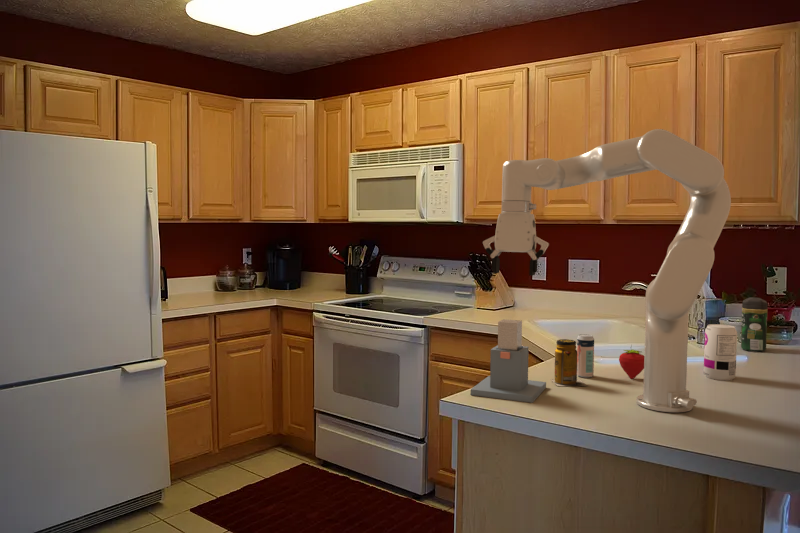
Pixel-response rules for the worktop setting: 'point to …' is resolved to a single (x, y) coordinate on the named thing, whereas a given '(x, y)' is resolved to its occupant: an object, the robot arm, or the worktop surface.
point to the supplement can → (720, 352)
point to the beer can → (585, 355)
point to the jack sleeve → (509, 377)
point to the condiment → (566, 364)
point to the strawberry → (632, 362)
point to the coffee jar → (754, 324)
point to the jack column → (510, 335)
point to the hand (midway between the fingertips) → (514, 274)
